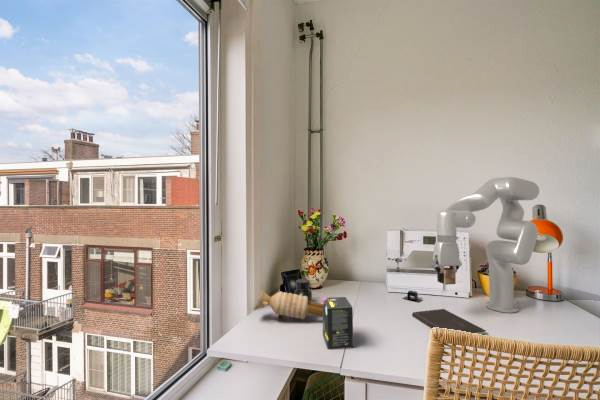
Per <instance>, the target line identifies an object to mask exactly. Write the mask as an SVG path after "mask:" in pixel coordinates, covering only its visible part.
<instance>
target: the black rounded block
mask: <svg viewBox="0 0 600 400" xmlns="http://www.w3.org/2000/svg"><path fill="white" fill-rule="evenodd" d="M406 295H407V296H406ZM406 295H405V296H404V297H402V298H401V299H402V300H406V301H410V302H412V303H413V302H415V303H419V304H420V303H422V302H423V301H424V300H423V299H419V297H418V296H419V295H418V291H414V290H408V292H407V293H406Z"/></svg>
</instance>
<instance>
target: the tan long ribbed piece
mask: <svg viewBox="0 0 600 400" xmlns="http://www.w3.org/2000/svg"><path fill="white" fill-rule="evenodd" d="M266 306H270V308H271V309H272V311H273V312H274V313H275V314H276V315H277V316H278V317H277V321H278V322H283V320H284V317H290V318H295V320H296V321H297V319H301V320H304V319H306V316H307V314H308V315H314V316H318V317H322V318H323V303H320V302H315V301H312V302H311V301H309V300H308V297H307V296H302V295H297V294H294V293H292V292H285V291H284V292H283V291H281V290H280V291H278V292H276V293H275V294H274V295H272V296H271V295H269V294H267V293H266V292H265V291H264V290H263V289H261V290H260V293H259V298H258V302H257V309H263V308H264V307H266Z"/></svg>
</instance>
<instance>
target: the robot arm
mask: <svg viewBox="0 0 600 400" xmlns="http://www.w3.org/2000/svg"><path fill="white" fill-rule="evenodd" d="M539 195H540V188H539V186H538V184H537V183H535V182H534V181H531V180H529V179H528V180H527V179H524V178H519V177H513V176H505V177H495V178H490V179H489V180H487V181H486V182H485V183H483V184H482V185H481V186H480V187H479V188H478V189H477V190H476V191H474V192H473V193H471V194H469V195H468V196H465V197H463V198H461V199H459V200H457V201H455V202H453V203H452V204H450V205H449V206H448V207H447V208H446V209H444V210H439V211H438V212H437V214H436V241H435V242H434V246H433V254H432V262H431V264H430V266H431V267H432V268H433V269H434V270H435V272H436V274H437V276H436V277H437V279H438V281H439V282H438V283H440V282H441V283H440V284H442V283H444V273H443V269H444V268H445V267H448V268H451V269H454V270H456V274H457V272H458V270H459V269H460V267H461V266H462V265H463V263H462V262H461V259H460V250H459V244H458V242H457V240H459V237H458V236H457V228H462V229H468V228H471V227H473V226H474V224H475V223H476V219H477V218H476V216H475V214H474V213H475V212H479V211H483V210H485V209H487V208H489V207H490V206H491V205H493V203H495V202H496V201H497V200H498V199H499V200H500V203H501V205H502V211H501V216H500V218H499V221H498V224H497V227H496V235H497V237H499V238H500V239H503V240H499V239H498V240H497V239H495V240H492V241H489V242H488V243H487V245H486V247H485V253H486V257H487V261H488V289H489V290H488V292H489V293H488V298H489V301H486V302H485V307H486V308H488V309H490V310H492V311H495V312H500V313H506V314H507V313H508V314H513V313H517V312H519V308H518V306H516V305H517V304H521V303H522V300H521V299H520V298H515V294H514V292H515V290H514V289H515V287H514V286H515V284H514V281H515V280H514V275H515V274H514V270H513V266H512V265H511V264H514V265H518V266H519V265H520V266H523V265H526V264H528V263H529V262H530V260H531V258H532V256H533V252H534V250H535V246H536V243H537V239H538V237H539V236H538V235H539V231H538V227H537V225H536V224H535V222H532V221H530V220H524V217H525V209H524V208H523V206H522V204H521V203H520V202H519V201H533V200H535V199H536V198H538V197H539ZM473 212H474V213H473ZM515 241H516V242H515Z"/></svg>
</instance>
